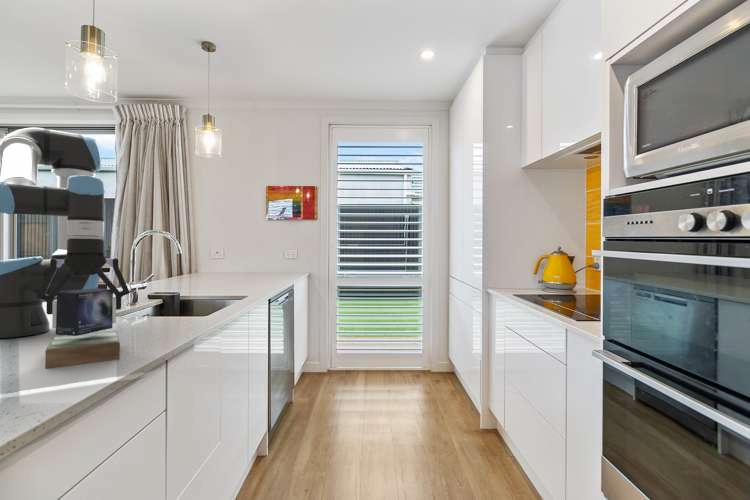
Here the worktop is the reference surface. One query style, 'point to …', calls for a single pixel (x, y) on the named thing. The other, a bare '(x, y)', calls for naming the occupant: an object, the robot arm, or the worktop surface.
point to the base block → (82, 349)
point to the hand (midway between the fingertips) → (85, 325)
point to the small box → (83, 311)
